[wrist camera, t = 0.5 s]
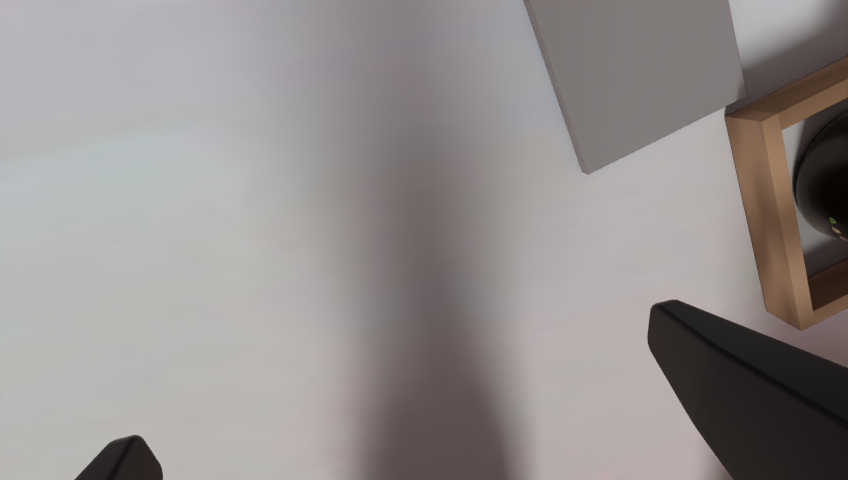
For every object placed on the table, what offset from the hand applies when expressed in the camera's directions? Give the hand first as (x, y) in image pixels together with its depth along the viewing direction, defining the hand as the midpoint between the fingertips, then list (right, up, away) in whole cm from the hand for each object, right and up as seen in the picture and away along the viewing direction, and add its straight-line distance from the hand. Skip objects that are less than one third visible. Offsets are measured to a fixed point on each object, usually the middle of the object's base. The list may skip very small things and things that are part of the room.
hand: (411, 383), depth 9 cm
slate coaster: (+9, +11, +13) cm, 20 cm away
